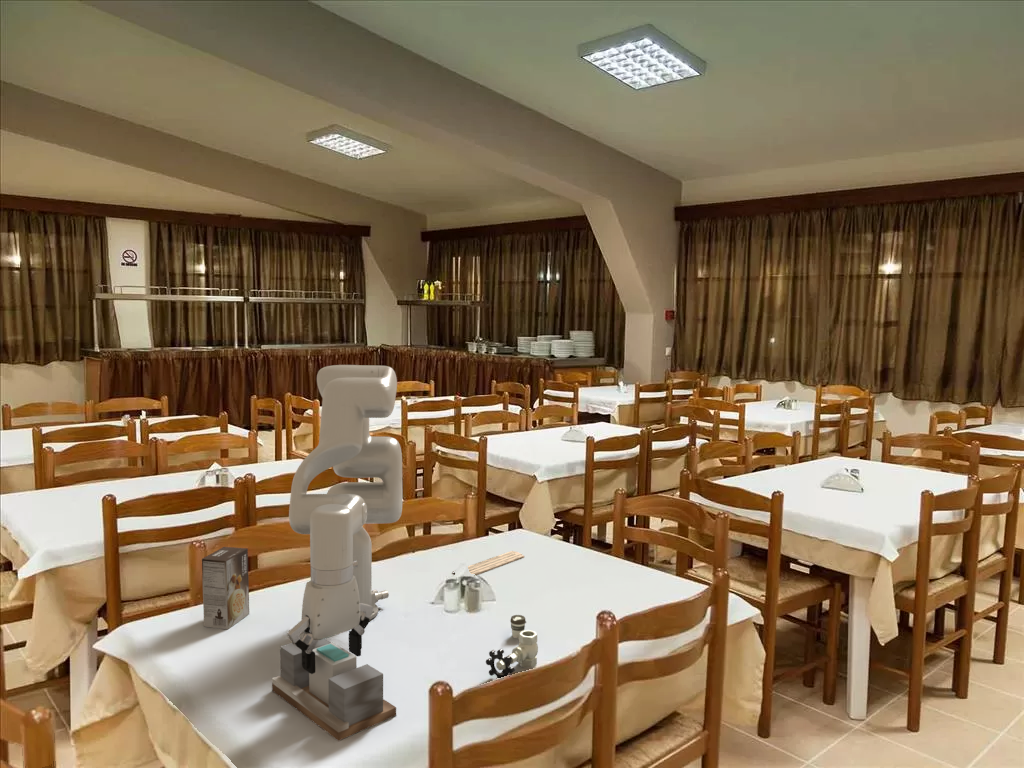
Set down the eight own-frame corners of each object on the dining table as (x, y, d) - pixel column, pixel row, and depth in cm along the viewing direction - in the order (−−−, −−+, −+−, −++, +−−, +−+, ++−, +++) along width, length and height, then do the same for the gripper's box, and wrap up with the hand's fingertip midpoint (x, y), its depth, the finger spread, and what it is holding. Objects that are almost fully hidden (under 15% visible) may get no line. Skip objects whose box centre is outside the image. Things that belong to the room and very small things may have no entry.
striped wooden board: (468, 581, 209) (468, 574, 209) (449, 574, 214) (449, 568, 213) (524, 560, 227) (524, 554, 227) (506, 554, 231) (506, 548, 231)
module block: (332, 682, 148) (332, 640, 148) (356, 698, 143) (356, 654, 142) (309, 691, 145) (308, 648, 144) (333, 708, 139) (332, 663, 138)
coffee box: (225, 611, 184) (224, 545, 183) (250, 614, 183) (249, 547, 181) (202, 627, 175) (201, 558, 174) (228, 630, 174) (227, 560, 172)
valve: (520, 656, 165) (485, 677, 155) (521, 626, 164) (485, 645, 154) (546, 665, 161) (511, 687, 151) (547, 634, 160) (512, 655, 150)
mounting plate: (327, 670, 156) (327, 629, 155) (396, 715, 140) (396, 670, 139) (272, 690, 148) (271, 648, 147) (338, 740, 132) (338, 693, 131)
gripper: (360, 556, 150) (360, 640, 152) (277, 579, 138) (279, 670, 140) (383, 567, 145) (383, 654, 147) (299, 591, 133) (300, 686, 135)
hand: (332, 662), depth 144 cm, fingers open, 9 cm apart
